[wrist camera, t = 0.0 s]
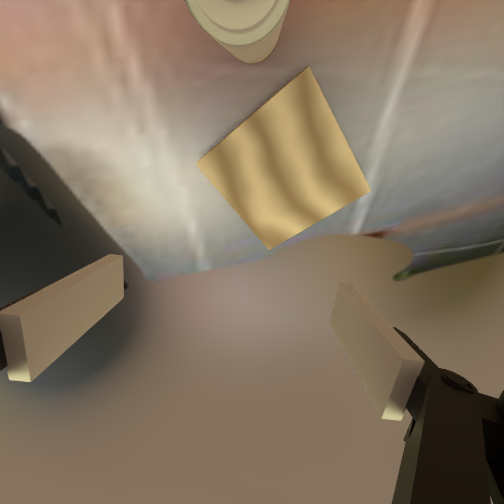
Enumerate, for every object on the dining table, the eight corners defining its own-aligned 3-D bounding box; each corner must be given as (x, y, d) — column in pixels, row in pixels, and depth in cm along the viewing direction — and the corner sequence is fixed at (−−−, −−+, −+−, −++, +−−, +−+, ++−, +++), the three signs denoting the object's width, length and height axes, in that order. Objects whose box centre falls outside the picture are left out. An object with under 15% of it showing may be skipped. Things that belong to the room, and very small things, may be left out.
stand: (304, 67, 30) (309, 66, 27) (362, 181, 38) (371, 190, 35) (201, 156, 37) (195, 164, 34) (268, 237, 45) (269, 250, 42)
